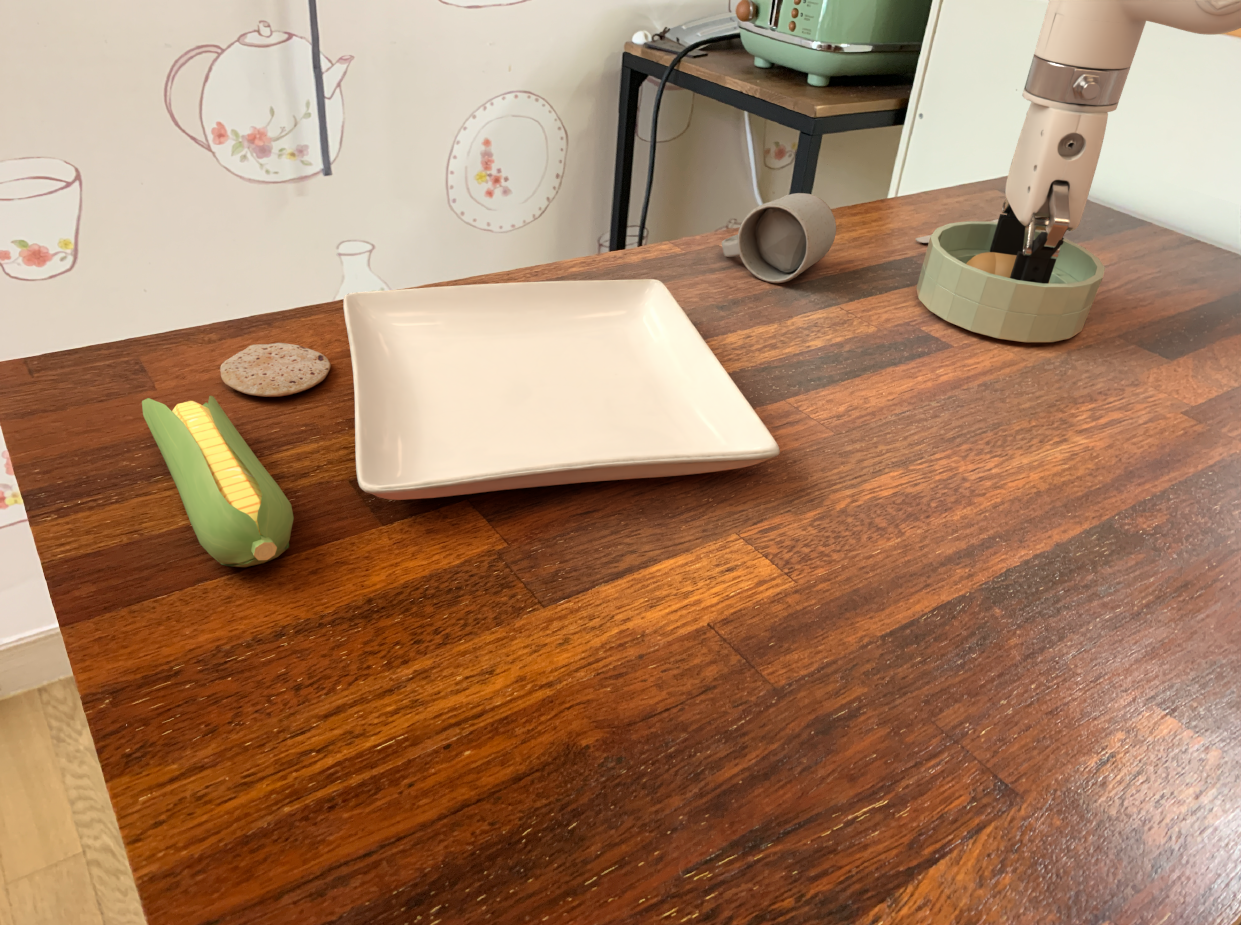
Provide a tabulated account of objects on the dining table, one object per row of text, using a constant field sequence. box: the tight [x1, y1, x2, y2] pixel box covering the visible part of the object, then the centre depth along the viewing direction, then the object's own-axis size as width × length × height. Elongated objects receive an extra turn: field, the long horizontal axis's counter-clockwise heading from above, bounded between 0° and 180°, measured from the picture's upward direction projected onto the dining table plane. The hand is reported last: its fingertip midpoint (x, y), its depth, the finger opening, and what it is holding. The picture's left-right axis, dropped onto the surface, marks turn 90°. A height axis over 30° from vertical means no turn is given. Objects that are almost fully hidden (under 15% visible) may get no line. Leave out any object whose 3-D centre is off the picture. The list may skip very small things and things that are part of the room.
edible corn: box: [141, 394, 295, 568], centre depth 57 cm, size 5×20×5 cm, turn 35°
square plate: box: [342, 278, 781, 501], centre depth 69 cm, size 27×27×4 cm
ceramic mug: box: [721, 192, 837, 284], centre depth 92 cm, size 11×8×8 cm
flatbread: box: [219, 342, 332, 398], centre depth 70 cm, size 8×8×1 cm
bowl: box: [915, 220, 1106, 343], centre depth 88 cm, size 15×15×6 cm
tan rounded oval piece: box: [966, 252, 1050, 284], centre depth 88 cm, size 8×5×5 cm, turn 80°
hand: (1014, 275), depth 87 cm, fingers open, 9 cm apart
